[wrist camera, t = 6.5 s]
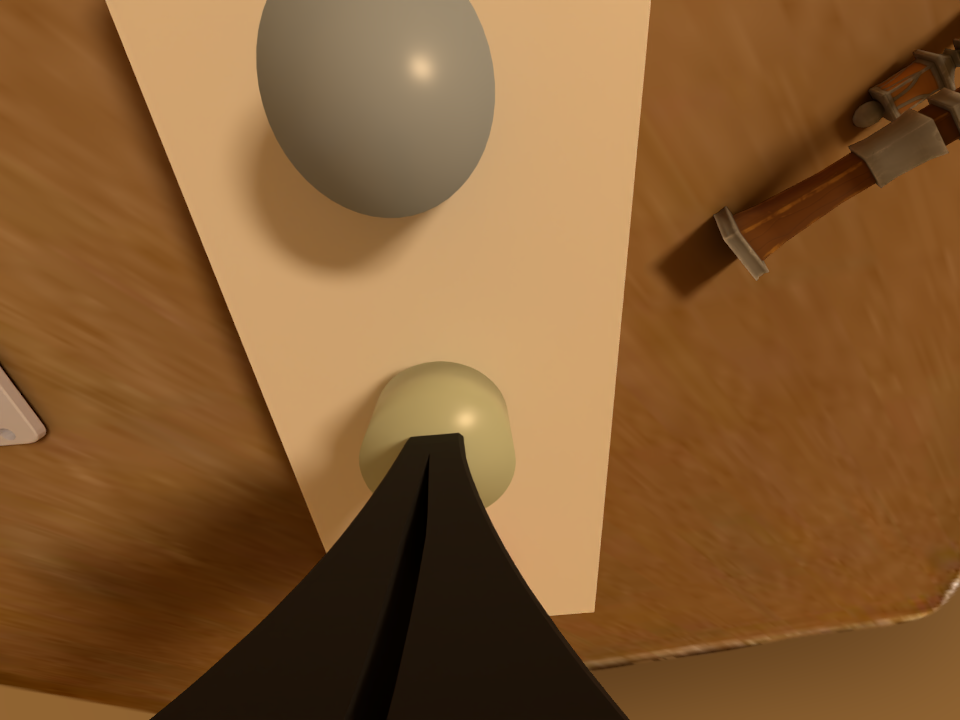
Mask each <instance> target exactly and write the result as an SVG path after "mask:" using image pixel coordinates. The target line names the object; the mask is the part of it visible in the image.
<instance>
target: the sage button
mask: <svg viewBox="0 0 960 720" xmlns="http://www.w3.org/2000/svg"><path fill="white" fill-rule="evenodd" d="M449 433H460V434H461V435H463V436H464V444H465V452H466V459H467V462H468V466H469V469H470V472H471V475H472V478H473V480H474V483H475V486H476V488H477V491H478V493H479V496H480V498H481V500H482V503H483V505H484V507H485V508H487V507H489V506H490V505H492V504H493V503H494V502H495V501H497V500H498V499H499V498H500V497H501V496H502V495H503V493H504V492H505V491H506V490H507V488H508V486H509V485H510V483H511V481H512V478H513V476H514V472H515V466H516V458H515V450H514V445H513V439H512V433H511V427H510V422H509V416H508V410H507V405H506V402H505V399H504V397H503V395H502V393H501V392H500V390H499V389H498V387H497V386H496V385H495V384H494V383H493V382H492V381H491V380H490V379H489V378H488V377H487V376H485V375H484V374H482V373H481V372H479V371H478V370H475V369H473V368H471V367H469V366H466V365H463V364H459V363H454V362H445V361H435V362H427V363H422V364H418V365H415V366H412V367H410V368H408V369H406V370H404V371H402V372H400V373H399V374H398V375H396V376H395V377H394V378H392V379H391V380H390V382H389V383H388V384H387V385H386V386H385V388H384V389H383V390H382V392H381V394H380V396H379V398H378V401H377V404H376V407H375V409H374V412H373V415H372V417H371V420H370V423H369V425H368V428H367V431H366V433H365V436H364V439H363V442H362V445H361V448H360V453H359V466H360V471H361V474H362V477H363V479H364V481H365V483H366V485H367V487H368V488H369V489H370V491H371V492H372V493H374V491H375V490H376V488H377V487H378V485H379V484H380V483H381V481H382V480H383V478H384V477H385V475H386V474H387V472H388V471H389V469H390V468H391V466H392V464H393V463H394V461H395V460H396V458H397V456H398V455H399V453H400V452H401V450H402V448H403V447H404V445H405V443H406V442H407V440H408V439H409V438H410V437H414V436H426V435H438V434H449Z"/></svg>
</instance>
